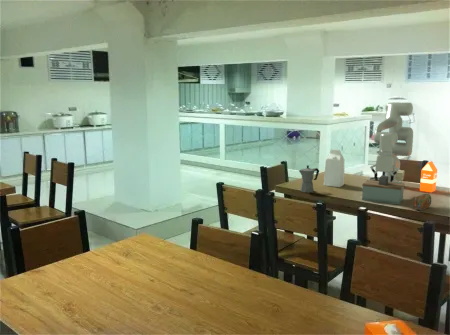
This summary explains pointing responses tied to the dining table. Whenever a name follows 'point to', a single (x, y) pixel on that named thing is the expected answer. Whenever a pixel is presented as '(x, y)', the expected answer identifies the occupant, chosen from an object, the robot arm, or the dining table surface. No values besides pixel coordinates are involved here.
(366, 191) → the toolbox
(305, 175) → the coffeepot
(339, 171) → the milk
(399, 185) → the lid
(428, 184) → the orange juice
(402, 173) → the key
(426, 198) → the tin
